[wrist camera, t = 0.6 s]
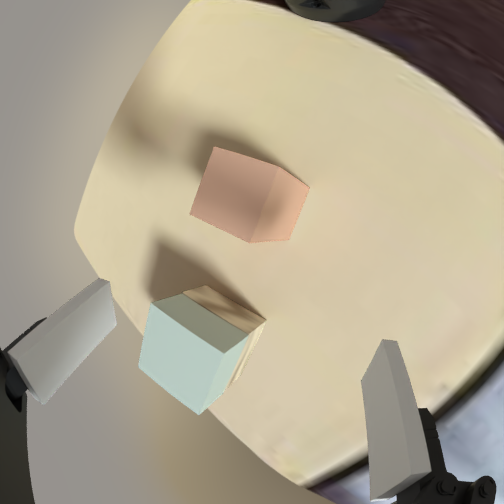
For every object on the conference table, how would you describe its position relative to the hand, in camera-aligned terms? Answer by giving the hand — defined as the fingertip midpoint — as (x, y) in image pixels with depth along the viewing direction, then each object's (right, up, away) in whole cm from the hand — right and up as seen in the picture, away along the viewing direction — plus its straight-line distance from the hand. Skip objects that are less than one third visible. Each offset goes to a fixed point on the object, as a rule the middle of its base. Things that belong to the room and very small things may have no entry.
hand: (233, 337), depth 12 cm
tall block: (+3, +9, +18) cm, 20 cm away
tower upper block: (-5, -7, +18) cm, 19 cm away
